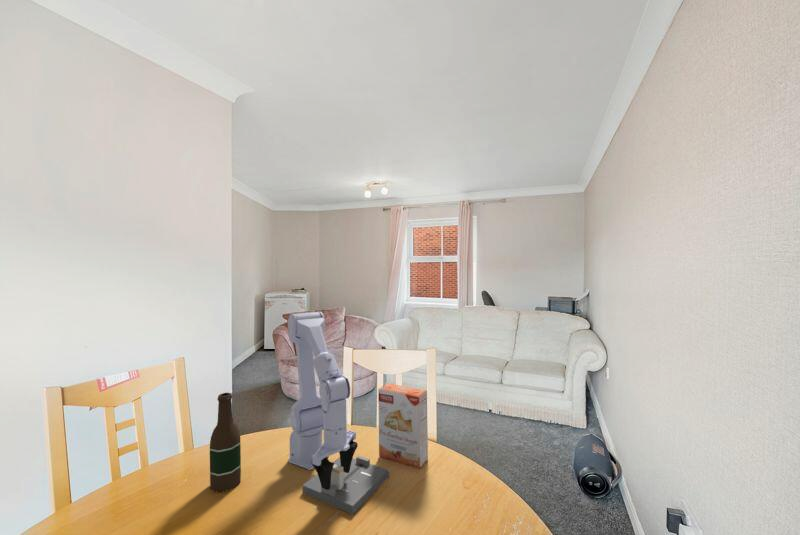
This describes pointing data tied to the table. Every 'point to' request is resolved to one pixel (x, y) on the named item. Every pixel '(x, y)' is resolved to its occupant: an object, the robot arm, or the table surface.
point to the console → (350, 485)
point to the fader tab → (337, 477)
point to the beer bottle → (225, 448)
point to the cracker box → (403, 424)
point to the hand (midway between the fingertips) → (335, 479)
